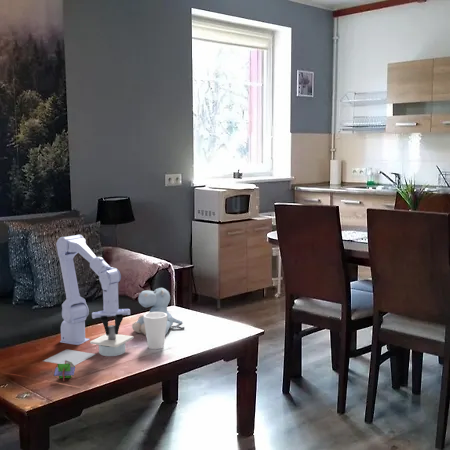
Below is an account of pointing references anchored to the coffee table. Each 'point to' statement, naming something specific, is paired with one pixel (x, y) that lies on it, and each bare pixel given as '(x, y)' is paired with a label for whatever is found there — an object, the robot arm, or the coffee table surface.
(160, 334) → the foam cup
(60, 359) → the mat
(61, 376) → the geometric puzzle
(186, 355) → the coffee table surface
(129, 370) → the coffee table surface
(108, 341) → the lid
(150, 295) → the light blue rounded figure
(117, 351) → the bowl
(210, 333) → the coffee table surface
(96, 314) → the robot arm
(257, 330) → the coffee table surface
